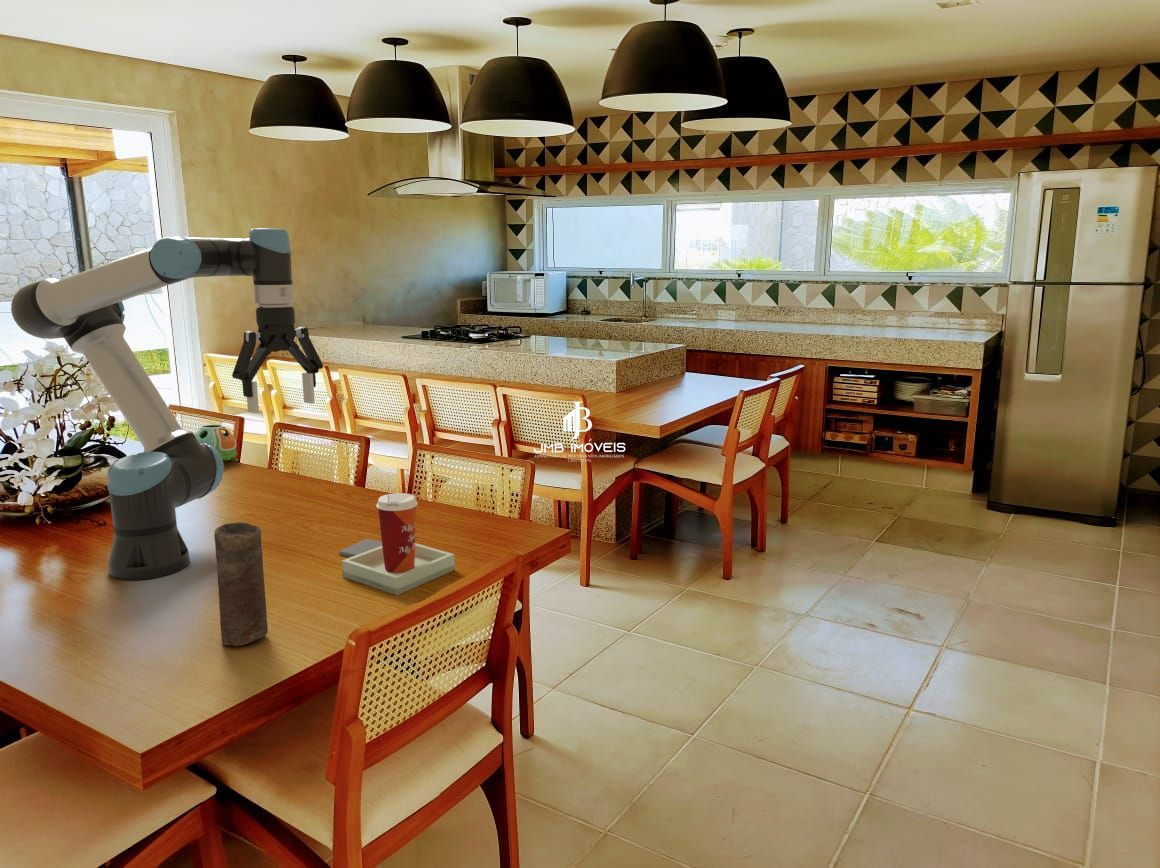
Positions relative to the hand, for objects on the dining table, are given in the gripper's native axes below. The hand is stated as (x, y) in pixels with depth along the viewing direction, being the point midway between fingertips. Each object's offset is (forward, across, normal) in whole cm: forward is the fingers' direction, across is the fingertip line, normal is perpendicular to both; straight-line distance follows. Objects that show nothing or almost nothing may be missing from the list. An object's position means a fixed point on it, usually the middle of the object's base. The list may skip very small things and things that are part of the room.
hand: (282, 407), depth 174 cm
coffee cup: (+32, +6, -27) cm, 42 cm away
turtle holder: (+33, +35, +89) cm, 101 cm away
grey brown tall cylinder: (+33, -30, -28) cm, 53 cm away
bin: (+33, +6, -27) cm, 43 cm away
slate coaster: (+33, +11, -12) cm, 37 cm away
